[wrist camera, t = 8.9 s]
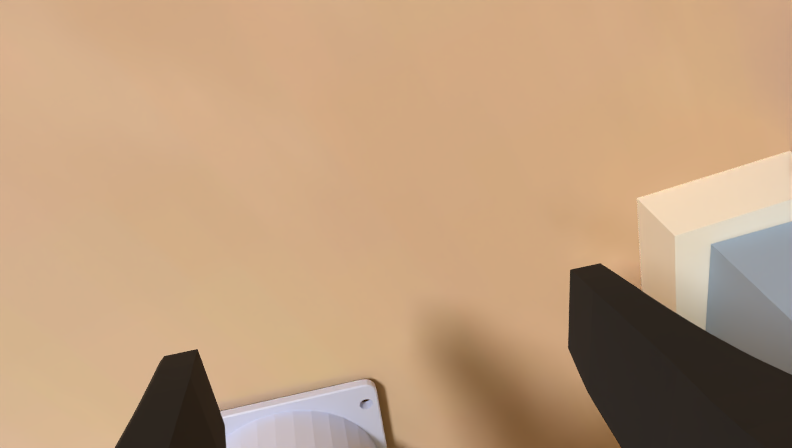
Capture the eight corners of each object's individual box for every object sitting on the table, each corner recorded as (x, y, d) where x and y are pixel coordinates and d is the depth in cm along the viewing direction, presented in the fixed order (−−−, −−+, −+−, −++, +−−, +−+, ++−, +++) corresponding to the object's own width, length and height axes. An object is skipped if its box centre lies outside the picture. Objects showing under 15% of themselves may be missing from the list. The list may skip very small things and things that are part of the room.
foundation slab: (773, 271, 30) (823, 315, 27) (639, 314, 30) (677, 362, 27) (783, 147, 27) (840, 183, 24) (632, 194, 26) (674, 235, 24)
